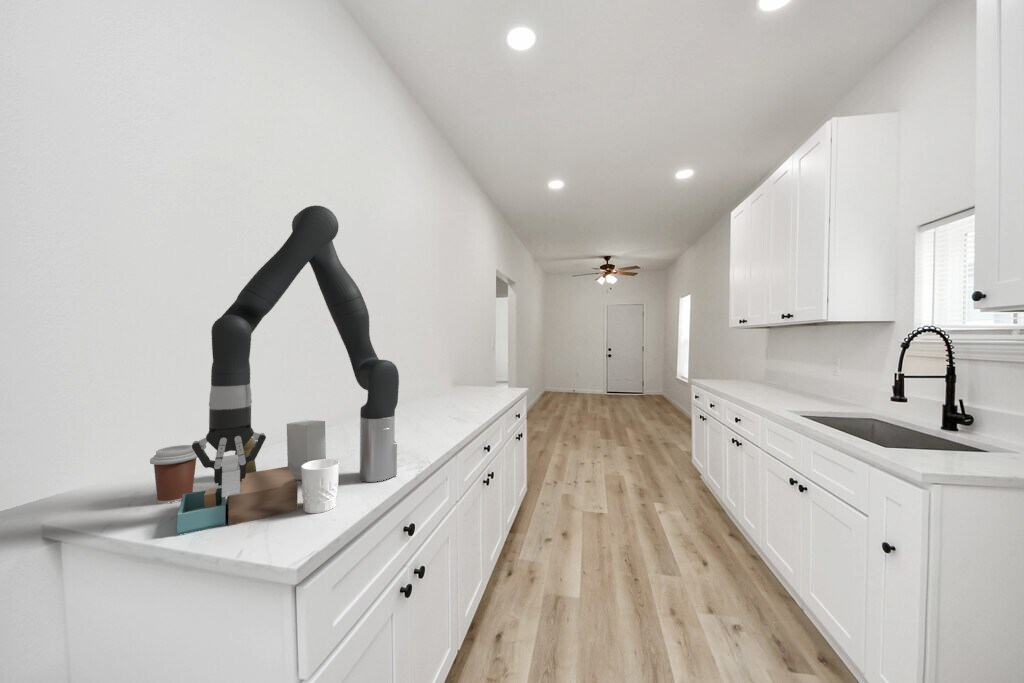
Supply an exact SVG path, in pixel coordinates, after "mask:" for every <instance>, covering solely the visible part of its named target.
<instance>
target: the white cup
mask: <svg viewBox="0 0 1024 683" xmlns="http://www.w3.org/2000/svg"><path fill="white" fill-rule="evenodd" d="M301 474H302V480H301V491H302V493H301V494H302V499H303V501H302V506H303V512H305V513H308V514H321V513H325V512H328V511H331V510H332V508H333V509H334V508H335V507H336V505H337V503H338V502H337V500H338V499H337V498H338V491H339V490H338V489H339V476H340V460H338V459H334V458H326V459H320V460H314V461H310V462H307V463H305V464H303V465H302V466H301Z"/></svg>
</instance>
